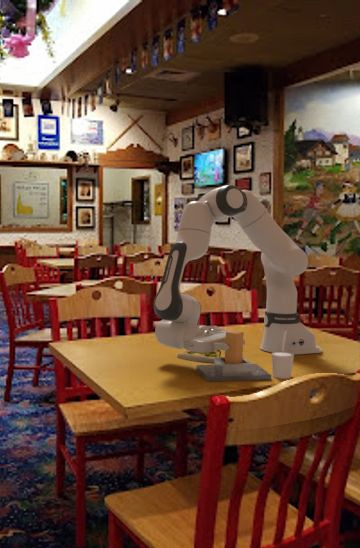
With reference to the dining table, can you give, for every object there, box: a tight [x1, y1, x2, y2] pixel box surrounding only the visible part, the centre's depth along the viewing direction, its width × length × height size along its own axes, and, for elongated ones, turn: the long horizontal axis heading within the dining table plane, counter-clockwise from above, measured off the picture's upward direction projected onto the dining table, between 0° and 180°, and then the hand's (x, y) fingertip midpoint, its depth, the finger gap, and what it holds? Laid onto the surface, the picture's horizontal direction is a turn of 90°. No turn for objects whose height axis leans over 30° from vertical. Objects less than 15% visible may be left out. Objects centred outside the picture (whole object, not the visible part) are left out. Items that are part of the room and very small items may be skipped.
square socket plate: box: [195, 356, 272, 383], centre depth 200 cm, size 20×14×4 cm
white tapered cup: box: [271, 352, 295, 379], centre depth 200 cm, size 7×7×7 cm
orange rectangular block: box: [224, 330, 244, 364], centre depth 199 cm, size 4×4×12 cm
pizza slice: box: [176, 350, 221, 364], centre depth 225 cm, size 16×21×3 cm
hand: (236, 345), depth 198 cm, fingers open, 8 cm apart
